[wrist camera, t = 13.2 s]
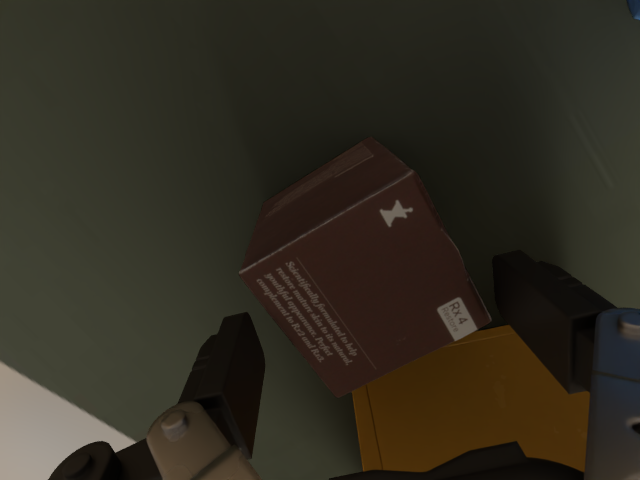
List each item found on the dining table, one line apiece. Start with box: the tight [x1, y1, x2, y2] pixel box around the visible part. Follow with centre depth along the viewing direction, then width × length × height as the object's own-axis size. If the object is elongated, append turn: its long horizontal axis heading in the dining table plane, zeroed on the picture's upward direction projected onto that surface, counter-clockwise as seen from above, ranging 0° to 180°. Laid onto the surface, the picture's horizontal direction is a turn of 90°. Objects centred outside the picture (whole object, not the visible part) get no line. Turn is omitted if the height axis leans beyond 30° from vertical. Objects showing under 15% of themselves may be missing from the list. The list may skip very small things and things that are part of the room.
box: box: [239, 137, 491, 398], centre depth 15 cm, size 6×6×7 cm
